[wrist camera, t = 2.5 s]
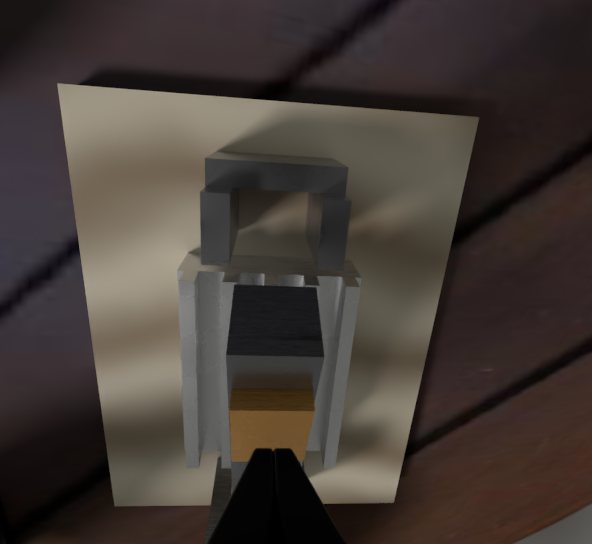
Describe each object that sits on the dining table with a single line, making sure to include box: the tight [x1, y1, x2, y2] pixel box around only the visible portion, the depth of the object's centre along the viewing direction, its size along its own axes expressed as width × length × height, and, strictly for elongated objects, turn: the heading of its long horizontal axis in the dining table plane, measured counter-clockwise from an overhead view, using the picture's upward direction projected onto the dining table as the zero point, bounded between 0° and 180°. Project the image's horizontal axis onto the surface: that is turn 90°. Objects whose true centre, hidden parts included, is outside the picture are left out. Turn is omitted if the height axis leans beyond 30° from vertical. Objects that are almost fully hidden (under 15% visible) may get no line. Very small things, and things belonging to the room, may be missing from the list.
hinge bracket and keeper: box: [200, 151, 352, 544], centre depth 18 cm, size 20×5×6 cm, turn 176°
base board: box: [57, 84, 479, 506], centre depth 22 cm, size 24×18×2 cm
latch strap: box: [226, 284, 324, 492], centre depth 16 cm, size 17×2×3 cm, turn 176°
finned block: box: [177, 253, 361, 469], centre depth 19 cm, size 10×8×4 cm
